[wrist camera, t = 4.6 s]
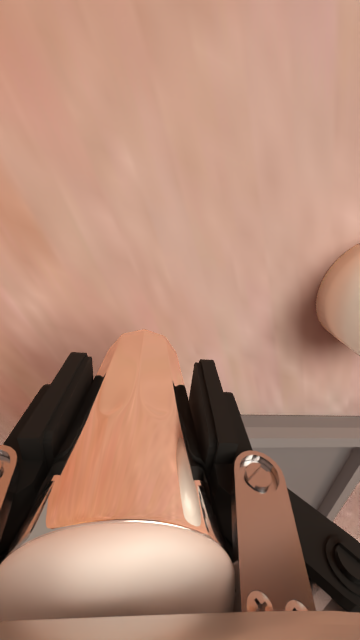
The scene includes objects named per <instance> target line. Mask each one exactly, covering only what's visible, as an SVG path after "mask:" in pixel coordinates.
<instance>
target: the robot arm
mask: <svg viewBox="0 0 360 640" xmlns="http://www.w3.org/2000/svg"><path fill="white" fill-rule="evenodd" d="M92 382H93V367H92V357H88V356H87V353H77V352H72V353H71V354H70V355H69V356H68V358H67V360H66V361H65V363H64V364H63V366H62V368H61V369H60V371H59V372H58V374H57V375H56V377H55V379H54V380H53V382H52V383H51V385H50V384H45V385H44V386H43V387H42V388H41V389H40V391H39V392H38V394H37V395H36V396H35V398H34V399H33V401H32V402H31V404H30V405H29V407H28V408H27V410H26V411H25V413H24V414H23V416H22V417H21V419H20V420H19V422H18V423H17V425H16V426H15V428H14V429H13V431H12V432H11V434H10V435H9V437H8V438H7V440H6V441H5V442H4V444H3V445H0V561H1V559H2V557H3V555H4V553H5V551H6V549H7V547H8V546H9V544H10V542H11V540H12V538H13V536H14V534H15V532H16V530H17V529H18V527H19V525H20V523H21V521H22V519H23V517H24V515H25V513H26V512H27V510H28V508H29V506H30V504H31V502H32V500H33V498H34V496H35V494H36V493H37V491H38V489H39V487H40V485H41V483H42V481H43V479H44V477H45V476H46V474H47V472H48V470H49V468H50V466H51V464H52V462H53V460H54V459H55V457H56V455H57V453H58V451H59V449H60V447H61V445H62V443H63V441H64V439H65V437H66V435H67V433H68V431H69V429H70V427H71V425H72V423H73V421H74V419H75V417H76V415H77V413H78V411H79V409H80V407H81V405H82V402H83V400H84V398H85V396H86V394H87V392H88V390H89V388H90V386H91V384H92ZM189 405H190V409H191V413H192V417H193V421H194V425H195V429H196V433H197V438H198V442H199V445H200V449H201V453H202V456H203V460H204V464H205V467H206V471H207V474H208V478H209V481H210V485H211V489H212V492H213V496H214V499H215V503H216V506H217V510H218V513H219V517H220V520H221V524H222V528H223V531H224V535H225V538H226V542H227V545H228V549H229V553H230V556H231V561H232V564H233V566H234V570H235V592H236V596H235V598H234V605H233V612H232V613H205V614H174V615H147V616H121V617H94V618H69V619H43V620H19V621H0V640H360V543H359V542H358V541H357V540H356V539H355V538H353V537H352V536H351V535H349V534H348V533H347V532H345V531H344V530H343V529H341V528H340V527H339V526H337V525H336V524H335V523H333V522H332V521H331V520H329V519H328V518H327V517H325V516H324V515H323V514H321V513H320V512H319V511H317V510H316V509H315V508H313V507H312V506H311V505H309V504H308V503H307V502H305V501H304V500H303V499H301V498H300V497H299V496H297V495H296V494H295V493H293V492H292V491H291V490H289V489H288V488H287V486H286V482H285V478H284V475H283V473H282V470H281V469H280V467H279V466H278V465H277V463H276V462H275V461H273V460H272V459H271V458H270V457H269V456H267V455H265V454H264V453H261V452H258V451H253V450H252V447H251V444H250V441H249V438H248V435H247V432H246V430H245V427H244V424H243V421H242V418H241V415H240V412H239V410H238V407H237V404H236V401H235V398H234V396H233V394H232V393H231V392H223V390H222V387H221V383H220V380H219V377H218V373H217V370H216V367H215V363H214V361H213V360H202V359H200V361H199V363H195V364H194V370H193V377H192V383H191V390H190V396H189Z"/></svg>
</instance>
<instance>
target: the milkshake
mask: <svg viewBox="0 0 360 640" xmlns="http://www.w3.org/2000/svg"><path fill="white" fill-rule="evenodd" d="M235 596H236V592H235V570H234V566H233V564H232V561H231V556H230V553H229V549H228V545H227V542H226V538H225V535H224V531H223V528H222V524H221V520H220V517H219V513H218V510H217V506H216V503H215V499H214V496H213V492H212V489H211V485H210V481H209V478H208V474H207V471H206V467H205V464H204V460H203V456H202V453H201V449H200V445H199V442H198V438H197V433H196V429H195V425H194V421H193V417H192V413H191V409H190V405H189V401H188V397H187V393H186V389H185V385H184V381H183V377H182V373H181V369H180V365H179V361H178V357H177V353H176V351H175V350H174V348H173V347H172V346H171V344H170V343H169V341H168V340H167V338H166V337H165V336H163V335H160V334H157V333H154V332H152V331H149V330H146V329H142V330H137V331H133V332H128V333H124V334H122V335H121V336H120V337H119V338H118V339H117V341H116V342H115V343H114V344H113V345H112V346H111V347H110V348H109V350H108V352H107V354H106V356H105V358H104V360H103V362H102V364H101V366H100V368H99V370H98V372H97V374H96V376H95V378H94V380H93V382H92V384H91V386H90V388H89V390H88V392H87V394H86V396H85V398H84V400H83V402H82V405H81V407H80V409H79V411H78V413H77V415H76V417H75V419H74V421H73V423H72V425H71V427H70V429H69V431H68V433H67V435H66V437H65V439H64V441H63V443H62V445H61V447H60V449H59V451H58V453H57V455H56V457H55V459H54V460H53V462H52V464H51V466H50V468H49V470H48V472H47V474H46V476H45V477H44V479H43V481H42V483H41V485H40V487H39V489H38V491H37V493H36V494H35V496H34V498H33V500H32V502H31V504H30V506H29V508H28V510H27V512H26V513H25V515H24V517H23V519H22V521H21V523H20V525H19V527H18V529H17V530H16V532H15V534H14V536H13V538H12V540H11V542H10V544H9V546H8V547H7V549H6V551H5V553H4V555H3V557H2V559H1V561H0V621H19V620H43V619H69V618H94V617H121V616H147V615H174V614H205V613H232V612H233V605H234V598H235Z"/></svg>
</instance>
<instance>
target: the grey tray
mask: <svg viewBox="0 0 360 640" xmlns="http://www.w3.org/2000/svg"><path fill="white" fill-rule="evenodd" d="M241 418H242V421H243V424H244V427H245V430H246V432H247V435H248V438H249V441H250V444H251V447H252V450H253V451H258V452H261V453H264V454H265V455H267V456H269V457H270V458H271V459H272V460H273V461H275V462H276V463H277V465H278V466H279V467H280V469H281V470H282V473H283V475H284V478H285V482H286V486H287V488H288V489H289V490H291V491H292V492H293V493H295V494H296V495H297V496H299V497H300V498H301V499H303V500H304V501H305V502H307V503H308V504H309V505H311V506H312V507H313V508H315V509H316V510H317V511H319V512H320V513H321V514H323V515H324V516H325V517H327V518H328V519H329V520H331V521H332V522H333V520H334V519H335V517H336V516H337V514H338V513H339V511H340V510H341V508H342V507H343V505H344V504H345V502H346V501H347V499H348V498H349V496H350V495H351V493H352V492H353V490H354V489H355V487H356V486H357V484H358V483H359V481H360V416H289V415H241Z"/></svg>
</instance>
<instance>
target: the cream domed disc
mask: <svg viewBox="0 0 360 640" xmlns="http://www.w3.org/2000/svg"><path fill="white" fill-rule="evenodd" d="M316 313H317V317H318V320H319V322H320V324H321V325H322V326H323V328H324V329H325V330H327V331H328V332H329V333H330V334H332V335H333V336H334V337H336V338H337V339H338V340H339V341H341V342H342V343H343V344H345V345H346V346H347V347H349V348H350V349H351V350H352V351H354V352H355V353H356V354H358V355H359V356H360V243H359V244H357V245H355V246H354V247H352V248H351V249H349V250H348V251H347V252H345V253H344V254H343V255H342V256H341V257H340V258H339V259H337V260H336V261H335V263H334V264H333V265H332V266H331V267H330V269H329V270H328V272H327V273H326V274H325V276H324V278H323V280H322V282H321V284H320V287H319V289H318V293H317V297H316Z"/></svg>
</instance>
